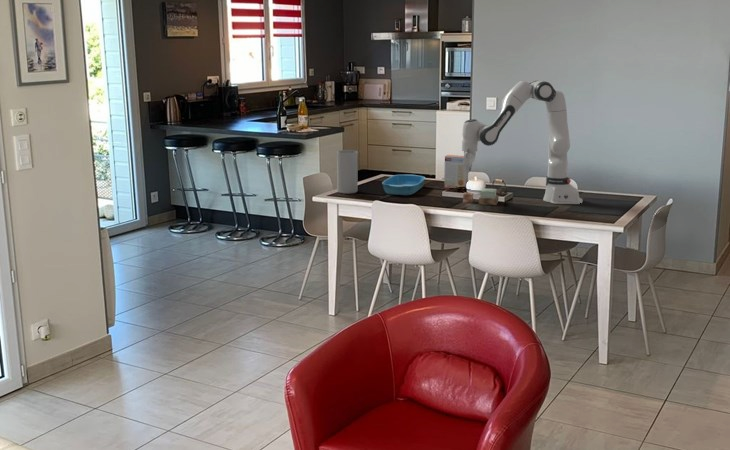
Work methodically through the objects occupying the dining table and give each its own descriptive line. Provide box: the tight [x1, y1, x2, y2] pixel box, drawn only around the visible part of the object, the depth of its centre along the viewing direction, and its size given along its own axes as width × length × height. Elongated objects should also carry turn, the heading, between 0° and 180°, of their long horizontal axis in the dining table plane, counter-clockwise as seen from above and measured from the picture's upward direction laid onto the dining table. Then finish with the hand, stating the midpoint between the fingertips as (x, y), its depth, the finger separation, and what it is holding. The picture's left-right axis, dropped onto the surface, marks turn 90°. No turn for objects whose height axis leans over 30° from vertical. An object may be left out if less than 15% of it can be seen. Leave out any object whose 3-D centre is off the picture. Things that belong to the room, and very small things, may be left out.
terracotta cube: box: [462, 192, 474, 204], centre depth 467 cm, size 5×5×5 cm
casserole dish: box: [381, 174, 426, 196], centre depth 497 cm, size 37×22×7 cm, turn 161°
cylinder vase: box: [336, 149, 359, 195], centre depth 491 cm, size 12×12×25 cm
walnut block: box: [478, 194, 499, 206], centre depth 464 cm, size 10×10×4 cm
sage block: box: [480, 187, 497, 199], centre depth 463 cm, size 8×8×4 cm
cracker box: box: [443, 154, 469, 190], centre depth 501 cm, size 14×6×21 cm, turn 65°
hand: (468, 171), depth 463 cm, fingers open, 8 cm apart
